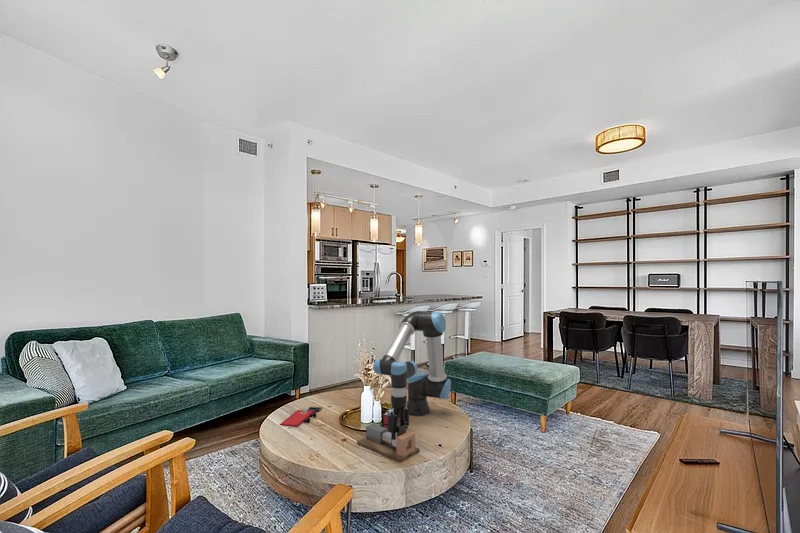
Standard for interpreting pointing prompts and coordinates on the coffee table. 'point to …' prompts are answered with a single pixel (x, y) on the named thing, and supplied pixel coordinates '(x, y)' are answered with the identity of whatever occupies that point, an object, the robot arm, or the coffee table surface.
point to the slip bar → (400, 430)
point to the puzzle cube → (385, 420)
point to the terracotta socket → (401, 444)
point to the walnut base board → (385, 450)
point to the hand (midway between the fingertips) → (398, 443)
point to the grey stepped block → (375, 433)
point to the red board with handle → (300, 417)
